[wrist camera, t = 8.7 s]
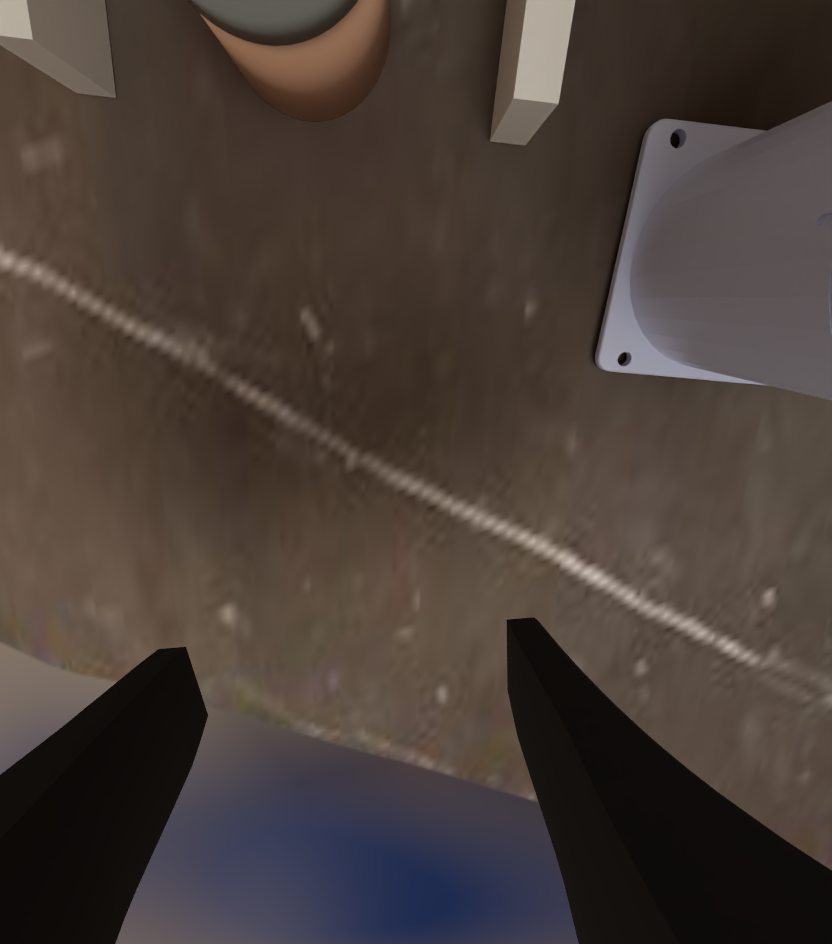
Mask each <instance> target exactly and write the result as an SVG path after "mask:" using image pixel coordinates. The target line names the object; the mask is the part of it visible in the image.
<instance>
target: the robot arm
mask: <svg viewBox="0 0 832 944" xmlns="http://www.w3.org/2000/svg"><path fill="white" fill-rule="evenodd" d="M672 133H676V134H678V136H679V138H680V143H679V145H678V147H677V148H674V147H672V145H671V143H670V137H671V135H672ZM623 352H625V353H626V354H627V359H626V361H625V362H624V363H623V364H621V365H619V363H618V357H619V355H620V354H621V353H623ZM595 362H596V365H597V366H598V367H599V368H600V369H603V370H606V371H611V372H623V373H634V374H645V375H656V376H668V377H679V378H690V379H701V380H713V381H724V382H735V383H746V384H758V385H769V386H773V387H778V388H782V389H786V390H790V391H795V392H799V393H803V394H807V395H811V396H816V397H820V398H824V399H828V400H832V101H831V102H828V103H826V104H824V105H822V106H820V107H818V108H815V109H813V110H811V111H809V112H807V113H805V114H802V115H800V116H798V117H796V118H794V119H792V120H789V121H787V122H785V123H783V124H781V125H778V126H776V127H774V128H772V129H770V130H768V131H765V130H757V129H748V128H740V127H732V126H724V125H715V124H707V123H699V122H691V121H683V120H674V119H661V120H659V121H657V122H656V123H654V124H653V125H651V126H650V127H649V128H648V130H647V131H646V132H645V135H644V138H643V141H642V146H641V150H640V155H639V160H638V164H637V169H636V173H635V178H634V182H633V187H632V191H631V196H630V200H629V205H628V209H627V214H626V218H625V223H624V227H623V232H622V236H621V241H620V245H619V250H618V255H617V259H616V264H615V268H614V273H613V277H612V282H611V286H610V291H609V295H608V300H607V304H606V309H605V313H604V318H603V322H602V327H601V331H600V336H599V340H598V345H597V350H596V354H595ZM507 674H508V694H509V699H510V703H511V708H512V713H513V717H514V722H515V727H516V731H517V736H518V739H519V742H520V746H521V749H522V752H523V755H524V758H525V761H526V764H527V767H528V770H529V774H530V777H531V780H532V783H533V786H534V789H535V792H536V795H537V798H538V801H539V804H540V807H541V810H542V813H543V816H544V820H545V823H546V826H547V829H548V832H549V835H550V838H551V841H552V844H553V847H554V850H555V853H556V857H557V860H558V863H559V867H560V870H561V874H562V877H563V881H564V885H565V889H566V893H567V897H568V901H569V905H570V909H571V913H572V918H573V922H574V926H575V930H576V934H577V938H578V942H579V944H832V871H831V870H830V869H828V868H827V867H825V866H824V865H822V864H821V863H819V862H818V861H816V860H814V859H813V858H811V857H810V856H808V855H807V854H805V853H804V852H802V851H801V850H799V849H798V848H796V847H794V846H793V845H791V844H790V843H789V842H787V841H786V840H784V839H783V838H781V837H780V836H778V835H777V834H775V833H774V832H773V831H771V830H770V829H768V828H767V827H766V826H764V825H763V824H761V823H760V822H759V821H757V820H756V819H754V818H753V817H752V816H750V815H749V814H747V813H746V812H745V811H743V810H742V809H740V808H739V807H738V806H736V805H735V804H733V803H732V802H731V801H729V800H728V799H727V798H725V797H724V796H722V795H721V794H720V793H718V792H717V791H716V790H714V789H713V788H712V787H710V786H709V785H708V784H707V783H705V782H704V781H703V780H701V779H700V778H699V777H698V776H696V775H695V774H694V773H692V772H691V771H690V770H689V769H687V768H686V767H685V766H684V765H683V764H681V763H680V762H679V761H678V760H677V759H675V758H674V757H673V756H672V755H670V754H669V753H668V752H667V751H666V750H664V749H663V748H662V747H661V746H660V745H659V744H657V743H656V742H655V741H654V740H653V739H652V738H651V737H649V736H648V735H647V734H646V733H645V732H644V731H643V730H642V729H641V728H639V727H638V726H637V725H636V724H635V723H634V722H633V721H632V720H631V719H630V718H629V717H628V716H627V715H625V714H624V713H623V712H622V711H621V710H620V709H619V708H618V707H617V706H616V705H615V704H614V703H613V702H612V701H611V700H610V699H609V698H608V697H607V696H606V695H605V694H604V693H603V692H602V691H601V690H600V689H599V688H598V687H597V686H596V685H595V684H594V683H593V682H592V681H591V680H590V679H589V678H588V677H587V676H586V675H585V674H584V673H583V672H582V670H581V669H580V668H579V667H578V666H577V665H576V664H575V663H574V662H573V661H572V660H571V658H570V657H569V656H568V655H567V654H566V653H565V652H564V651H563V650H562V648H561V647H560V646H559V645H558V644H557V643H556V641H555V640H554V639H553V638H552V637H551V636H550V634H549V633H548V632H547V631H546V630H545V628H544V627H543V626H542V625H541V624H540V622H539V621H538V620H536V619H535V618H522V619H510V620H507ZM207 717H208V714H207V711H206V708H205V705H204V701H203V698H202V695H201V692H200V689H199V686H198V683H197V680H196V677H195V674H194V671H193V668H192V665H191V661H190V658H189V655H188V652H187V649H186V647H179V648H167V649H158V650H157V651H156V652H154V653H153V654H152V655H150V656H149V657H148V658H146V659H145V660H144V661H143V662H141V663H140V664H139V665H138V666H136V667H135V668H134V669H133V670H131V671H130V672H129V673H128V674H126V675H125V676H124V677H123V678H122V679H120V680H119V681H118V682H117V683H116V684H114V685H113V686H112V687H111V688H109V689H108V690H107V691H106V692H105V693H103V694H102V695H101V696H100V697H98V698H97V699H96V700H95V701H94V702H93V703H91V704H90V705H89V706H87V707H86V708H85V709H84V710H83V711H81V712H80V713H79V714H78V715H76V716H75V717H74V718H73V719H72V720H70V721H69V722H68V723H67V724H66V725H64V726H63V727H62V728H60V729H59V730H58V731H57V732H55V733H54V734H53V735H51V736H50V737H49V738H48V739H46V740H45V741H44V742H42V743H41V744H40V745H39V746H37V747H36V748H35V749H33V750H32V751H31V752H29V753H28V754H27V755H26V756H24V757H23V758H22V759H20V760H19V761H18V762H16V763H15V764H14V765H13V766H11V767H10V768H9V769H7V770H6V771H5V772H3V773H2V774H1V775H0V944H115V943H116V940H117V937H118V935H119V932H120V929H121V926H122V924H123V921H124V918H125V916H126V913H127V911H128V909H129V906H130V904H131V901H132V899H133V897H134V894H135V891H136V889H137V887H138V885H139V883H140V880H141V878H142V876H143V874H144V871H145V869H146V867H147V865H148V863H149V860H150V858H151V856H152V854H153V852H154V849H155V847H156V845H157V843H158V841H159V839H160V836H161V834H162V832H163V830H164V827H165V825H166V823H167V821H168V819H169V816H170V814H171V812H172V810H173V808H174V805H175V803H176V801H177V799H178V796H179V794H180V792H181V790H182V787H183V785H184V783H185V781H186V778H187V776H188V774H189V771H190V769H191V767H192V765H193V762H194V759H195V756H196V752H197V749H198V747H199V744H200V740H201V737H202V734H203V730H204V727H205V723H206V720H207Z"/></svg>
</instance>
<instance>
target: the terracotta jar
mask: <svg viewBox="0 0 832 944" xmlns="http://www.w3.org/2000/svg"><path fill="white" fill-rule="evenodd" d="M187 1H188V2H189V3H190V4H191V5H192V6H193V7H194V8H195V9H196V10H197V11H198V12H199V13H200V15H201V16H202V17H203V19H204V20H205V22H206V23H207V24H208V26H209V27H210V29H211V30H212V32H213V33H214V34H215V36H216V37H217V39H218V40H219V42H220V43H221V44H222V46H223V47H224V49H225V50H226V51H227V53H228V54H229V56H230V57H231V59H232V60H233V61H234V63H235V64H236V66H237V67H238V69H239V70H240V71H241V73H242V74H243V76H244V77H245V78H246V80H247V81H248V83H249V84H250V85H251V87H252V88H253V89H254V90H255V92H256V93H257V94H258V95H259V96H260V97H261V98H262V99H263V100H264V101H265V102H267V103H268V104H269V105H271V106H272V107H273V108H275V109H276V110H278V111H280V112H281V113H283V114H285V115H288V116H290V117H292V118H296V119H300V120H303V121H313V122H315V121H326V120H331V119H335V118H337V117H340V116H342V115H344V114H346V113H348V112H349V111H351V110H353V109H354V108H355V107H356V106H358V105H359V104H360V103H361V102H362V101H363V100H364V99H365V98H366V97H367V96H368V94H369V93H370V91H371V90H372V89H373V87H374V86H375V84H376V82H377V80H378V78H379V76H380V74H381V71H382V69H383V66H384V63H385V59H386V56H387V52H388V45H389V36H390V15H389V0H187Z"/></svg>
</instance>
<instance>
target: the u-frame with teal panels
mask: <svg viewBox="0 0 832 944" xmlns="http://www.w3.org/2000/svg"><path fill="white" fill-rule="evenodd" d="M574 6H575V0H507V4H506V12H505V20H504V29H503V37H502V45H501V53H500V61H499V69H498V78H497V86H496V94H495V102H494V110H493V118H492V126H491V135H490V142H499V143H508V144H516V145H526V144H527V143H528V141H529V140H530V139H531V138H532V136H533V135H534V134H535V133H536V131H537V130H538V129H539V128H540V126H541V125H542V124H543V123H544V121H545V120H546V119H547V118H548V116H549V115H550V114H551V113H552V111H553V110H554V109H555V108H556V106H557V105H558V104H559V98H560V92H561V86H562V80H563V73H564V67H565V61H566V55H567V49H568V43H569V37H570V30H571V24H572V18H573V12H574ZM0 45H1V46H2V47H4V48H6V49H7V50H9V51H10V52H12V53H13V54H15V55H17V56H18V57H20V58H21V59H23V60H25V61H26V62H28V63H29V64H31V65H33V66H34V67H36V68H37V69H39V70H40V71H42V72H44V73H45V74H47V75H48V76H50V77H52V78H53V79H55V80H56V81H58V82H60V83H61V84H63V85H64V86H66V87H67V88H69V89H71V90H72V91H74V92H75V93H78V94H86V95H95V96H103V97H112V98H116V93H115V84H114V75H113V66H112V58H111V49H110V40H109V31H108V23H107V14H106V5H105V0H0Z"/></svg>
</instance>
